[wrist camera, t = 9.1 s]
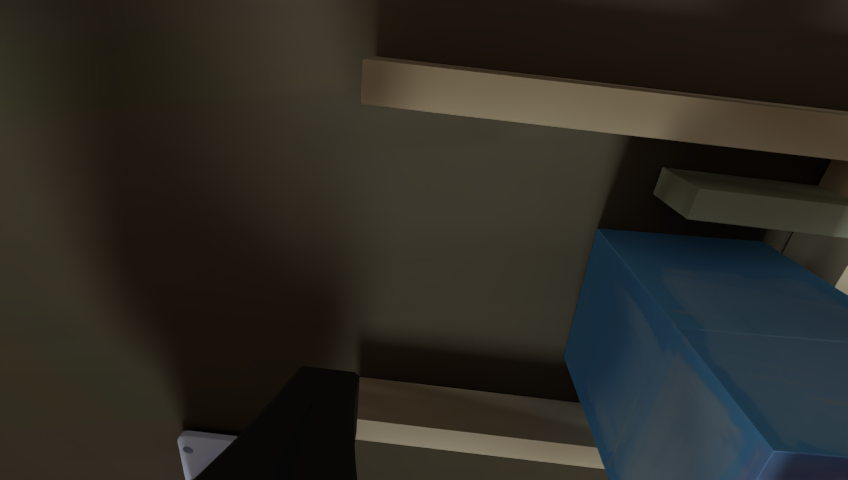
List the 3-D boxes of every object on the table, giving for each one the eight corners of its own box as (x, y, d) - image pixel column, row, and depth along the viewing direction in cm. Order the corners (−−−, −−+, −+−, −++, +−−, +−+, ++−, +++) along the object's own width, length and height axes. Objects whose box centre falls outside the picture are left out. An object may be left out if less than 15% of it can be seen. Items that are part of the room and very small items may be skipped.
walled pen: (711, 437, 20) (743, 485, 18) (358, 395, 20) (347, 438, 18) (893, 116, 14) (976, 130, 12) (376, 56, 14) (362, 58, 12)
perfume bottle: (762, 241, 16) (1440, 668, 5) (705, 368, 19) (1068, 829, 8) (597, 228, 16) (909, 618, 5) (563, 356, 19) (723, 793, 8)
